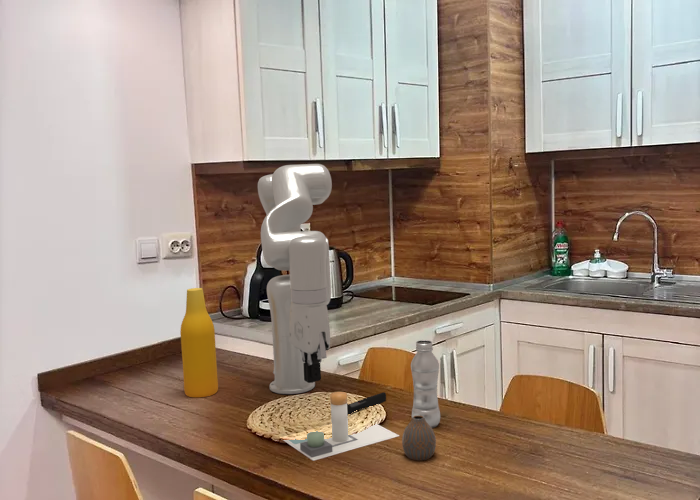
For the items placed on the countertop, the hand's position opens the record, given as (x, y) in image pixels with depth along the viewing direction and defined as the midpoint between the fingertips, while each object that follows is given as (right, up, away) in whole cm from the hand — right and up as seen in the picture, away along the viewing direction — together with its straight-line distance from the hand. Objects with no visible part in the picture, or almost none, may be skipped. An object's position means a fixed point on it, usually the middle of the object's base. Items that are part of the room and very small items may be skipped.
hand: (312, 380), depth 149 cm
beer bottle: (-33, -12, +46) cm, 58 cm away
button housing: (+1, -15, +1) cm, 15 cm away
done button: (+1, -14, +1) cm, 14 cm away
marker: (+6, -14, +7) cm, 17 cm away
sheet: (+5, -15, +9) cm, 18 cm away
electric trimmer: (+11, -13, +27) cm, 32 cm away
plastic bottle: (+26, -13, +14) cm, 32 cm away
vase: (+22, -16, -3) cm, 27 cm away
